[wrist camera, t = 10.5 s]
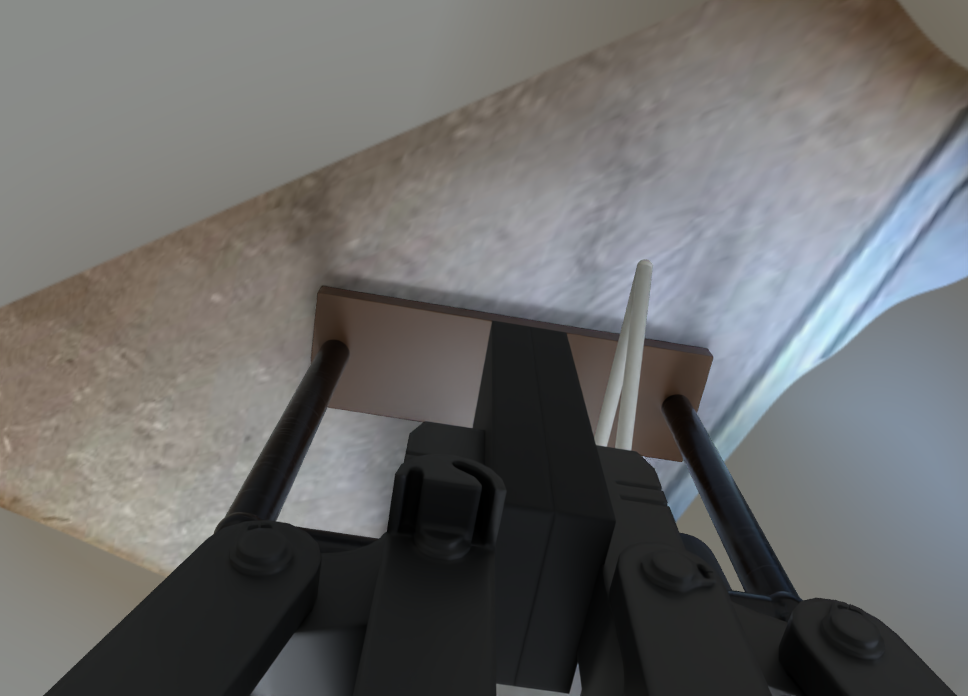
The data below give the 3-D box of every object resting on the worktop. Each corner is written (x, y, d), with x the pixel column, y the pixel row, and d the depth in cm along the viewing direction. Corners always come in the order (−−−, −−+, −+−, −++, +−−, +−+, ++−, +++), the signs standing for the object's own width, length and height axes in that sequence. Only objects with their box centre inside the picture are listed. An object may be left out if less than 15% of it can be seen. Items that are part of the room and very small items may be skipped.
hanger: (637, 256, 41) (740, 404, 24) (652, 259, 41) (764, 407, 24) (551, 605, 49) (582, 896, 32) (563, 607, 49) (601, 898, 32)
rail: (321, 285, 51) (198, 462, 29) (708, 348, 52) (860, 561, 31) (311, 395, 54) (191, 629, 32) (677, 452, 55) (797, 713, 34)
